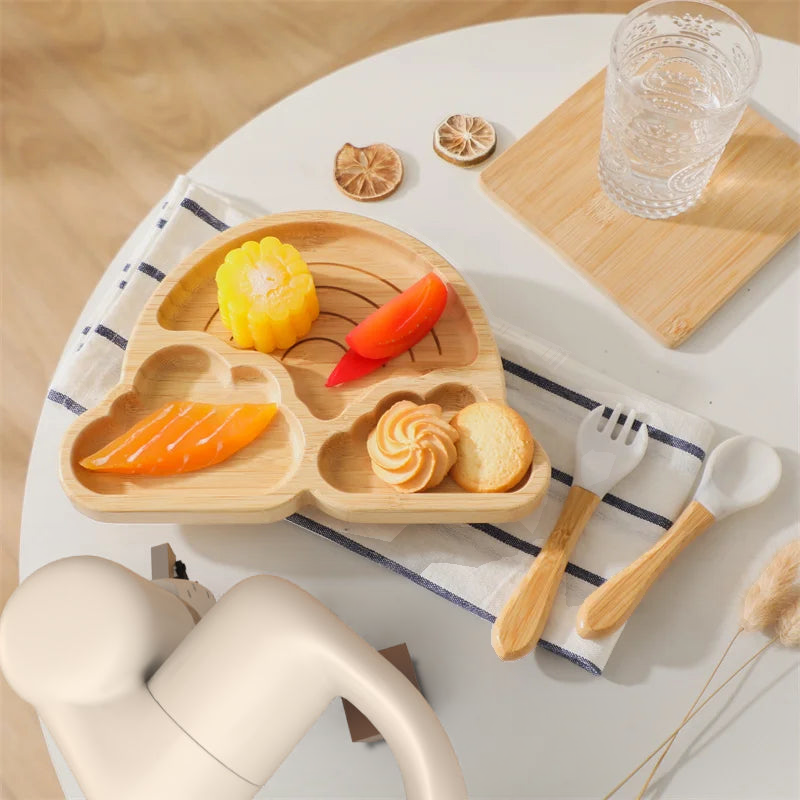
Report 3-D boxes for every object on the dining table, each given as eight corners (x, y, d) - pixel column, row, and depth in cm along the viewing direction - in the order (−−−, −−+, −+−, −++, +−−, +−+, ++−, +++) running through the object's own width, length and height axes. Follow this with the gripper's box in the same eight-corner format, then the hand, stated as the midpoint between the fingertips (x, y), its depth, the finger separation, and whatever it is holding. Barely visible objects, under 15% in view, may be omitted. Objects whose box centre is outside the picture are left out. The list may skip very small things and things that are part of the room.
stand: (429, 724, 106) (427, 719, 81) (371, 742, 105) (352, 742, 81) (412, 664, 108) (405, 642, 84) (356, 681, 108) (332, 664, 83)
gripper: (235, 786, 51) (283, 775, 67) (177, 498, 57) (234, 552, 73) (104, 826, 50) (184, 806, 66) (59, 532, 56) (142, 578, 73)
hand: (210, 673), depth 70 cm, fingers open, 9 cm apart
